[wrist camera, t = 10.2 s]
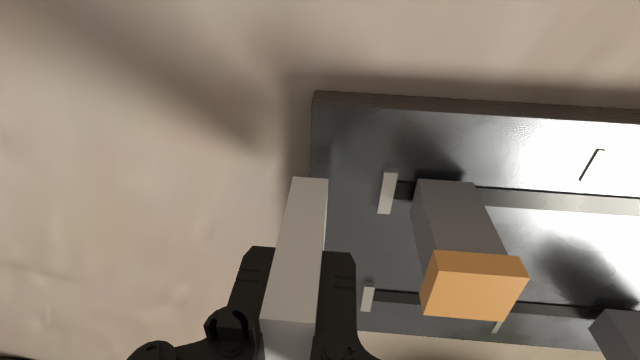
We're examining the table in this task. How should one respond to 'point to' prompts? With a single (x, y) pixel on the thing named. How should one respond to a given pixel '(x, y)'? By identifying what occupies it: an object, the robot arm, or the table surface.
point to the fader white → (617, 334)
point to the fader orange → (462, 254)
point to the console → (499, 200)
